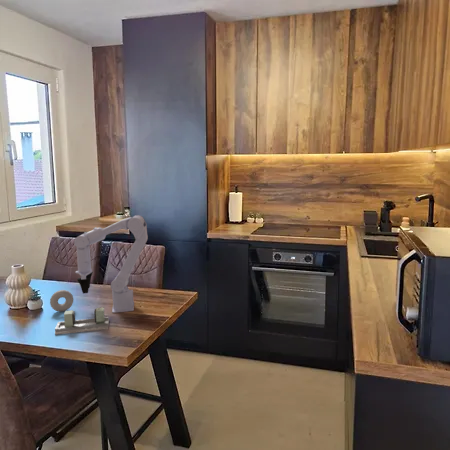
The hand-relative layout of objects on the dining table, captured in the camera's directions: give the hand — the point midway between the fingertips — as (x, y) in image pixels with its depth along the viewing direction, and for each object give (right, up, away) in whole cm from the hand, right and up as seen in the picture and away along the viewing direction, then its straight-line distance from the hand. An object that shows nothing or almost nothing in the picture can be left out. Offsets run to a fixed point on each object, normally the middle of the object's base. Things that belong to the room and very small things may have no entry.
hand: (86, 290), depth 181 cm
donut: (-11, -10, +1) cm, 15 cm away
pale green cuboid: (0, -11, -19) cm, 22 cm away
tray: (+5, -12, -18) cm, 22 cm away
